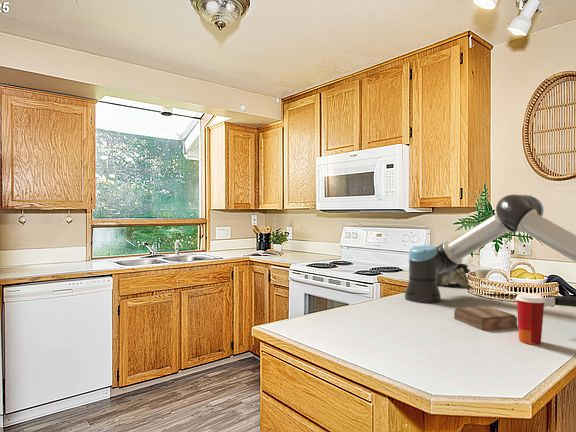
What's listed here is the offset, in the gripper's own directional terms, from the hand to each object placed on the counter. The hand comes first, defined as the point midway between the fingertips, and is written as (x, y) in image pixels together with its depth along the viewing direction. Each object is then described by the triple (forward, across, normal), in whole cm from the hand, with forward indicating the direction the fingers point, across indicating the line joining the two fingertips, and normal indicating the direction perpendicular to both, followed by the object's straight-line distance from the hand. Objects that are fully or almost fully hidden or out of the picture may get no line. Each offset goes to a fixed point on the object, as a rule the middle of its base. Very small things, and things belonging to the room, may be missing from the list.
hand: (556, 307), depth 122 cm
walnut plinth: (+9, +20, -10) cm, 24 cm away
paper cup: (+10, 0, -10) cm, 14 cm away
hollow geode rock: (-22, +87, -10) cm, 90 cm away
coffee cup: (-28, +62, -10) cm, 69 cm away
